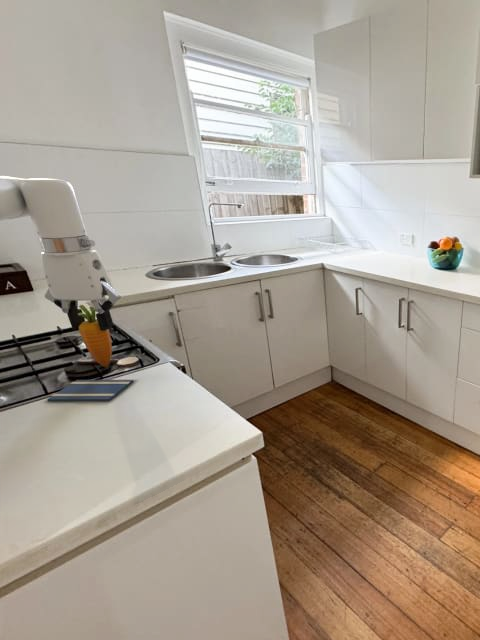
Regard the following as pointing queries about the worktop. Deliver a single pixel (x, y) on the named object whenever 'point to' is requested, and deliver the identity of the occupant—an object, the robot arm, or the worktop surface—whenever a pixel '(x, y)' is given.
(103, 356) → the carrot
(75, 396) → the dish cloth
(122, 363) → the wooden spoon
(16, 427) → the worktop surface
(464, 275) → the worktop surface
